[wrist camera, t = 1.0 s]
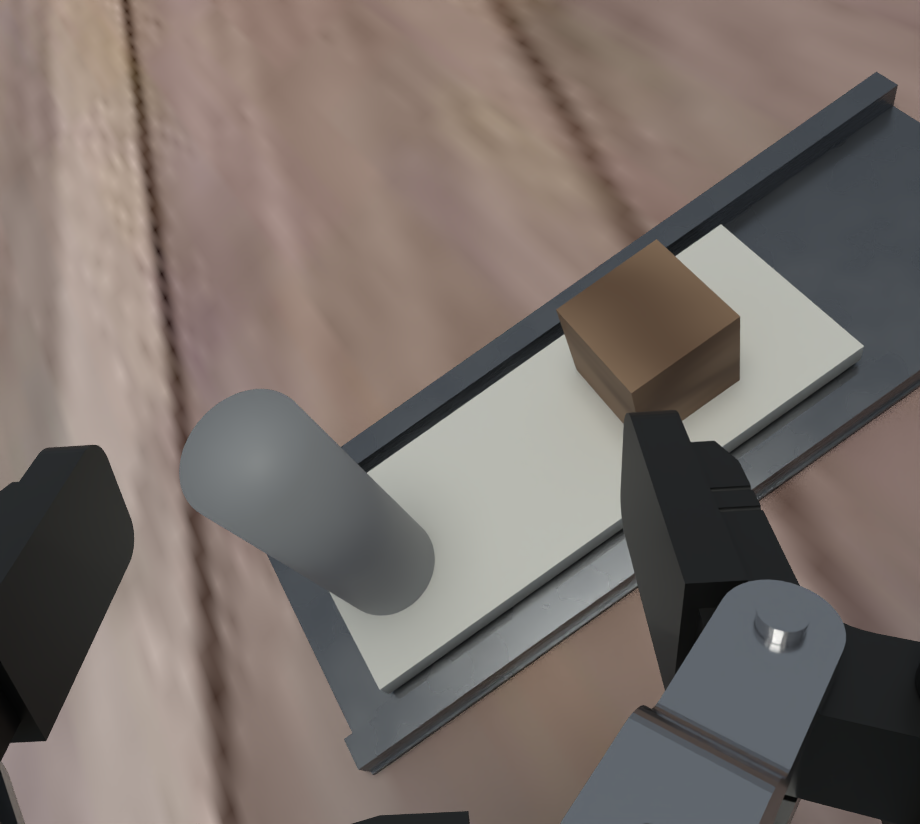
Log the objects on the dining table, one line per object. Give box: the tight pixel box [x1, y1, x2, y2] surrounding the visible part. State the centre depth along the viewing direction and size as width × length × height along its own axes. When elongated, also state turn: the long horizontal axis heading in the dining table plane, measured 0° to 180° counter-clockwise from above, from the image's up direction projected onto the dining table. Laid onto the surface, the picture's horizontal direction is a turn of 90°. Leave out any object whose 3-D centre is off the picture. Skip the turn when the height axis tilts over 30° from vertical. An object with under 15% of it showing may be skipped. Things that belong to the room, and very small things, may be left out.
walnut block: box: [556, 239, 740, 424], centre depth 30 cm, size 4×4×4 cm
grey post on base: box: [179, 225, 864, 694], centre depth 28 cm, size 22×8×12 cm, turn 121°
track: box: [267, 72, 920, 775], centre depth 33 cm, size 34×12×1 cm, turn 121°
